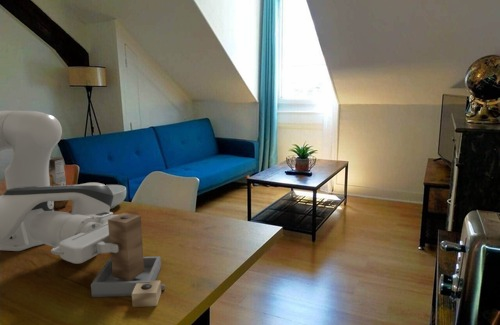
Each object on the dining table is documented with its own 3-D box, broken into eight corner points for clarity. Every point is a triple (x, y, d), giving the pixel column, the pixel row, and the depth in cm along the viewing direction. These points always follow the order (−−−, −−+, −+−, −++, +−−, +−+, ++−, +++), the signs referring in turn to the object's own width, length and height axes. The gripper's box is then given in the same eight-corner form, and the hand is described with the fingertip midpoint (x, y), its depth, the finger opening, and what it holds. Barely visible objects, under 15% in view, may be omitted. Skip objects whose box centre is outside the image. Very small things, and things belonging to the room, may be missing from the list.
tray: (92, 297, 77) (90, 284, 76) (110, 269, 89) (109, 257, 89) (150, 295, 78) (149, 282, 77) (161, 267, 90) (160, 256, 90)
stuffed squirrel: (46, 202, 145) (42, 171, 143) (77, 204, 143) (73, 172, 140) (27, 210, 136) (22, 176, 133) (59, 212, 133) (56, 178, 131)
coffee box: (39, 194, 156) (34, 159, 153) (49, 190, 163) (45, 156, 159) (57, 195, 155) (53, 159, 152) (67, 191, 161) (63, 157, 158)
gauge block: (130, 306, 73) (129, 293, 73) (138, 289, 80) (137, 276, 80) (159, 305, 74) (158, 292, 73) (165, 288, 81) (164, 275, 80)
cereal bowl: (94, 200, 148) (92, 184, 146) (133, 200, 147) (132, 184, 146) (73, 214, 131) (71, 195, 130) (117, 214, 130) (115, 196, 129)
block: (112, 277, 82) (107, 219, 79) (127, 267, 86) (123, 212, 84) (129, 281, 80) (125, 222, 77) (144, 271, 84) (140, 215, 82)
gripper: (44, 237, 76) (92, 247, 71) (113, 209, 95) (155, 215, 90) (47, 264, 78) (95, 276, 72) (114, 231, 96) (156, 239, 91)
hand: (129, 242), depth 81 cm, fingers closed on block, 5 cm apart
